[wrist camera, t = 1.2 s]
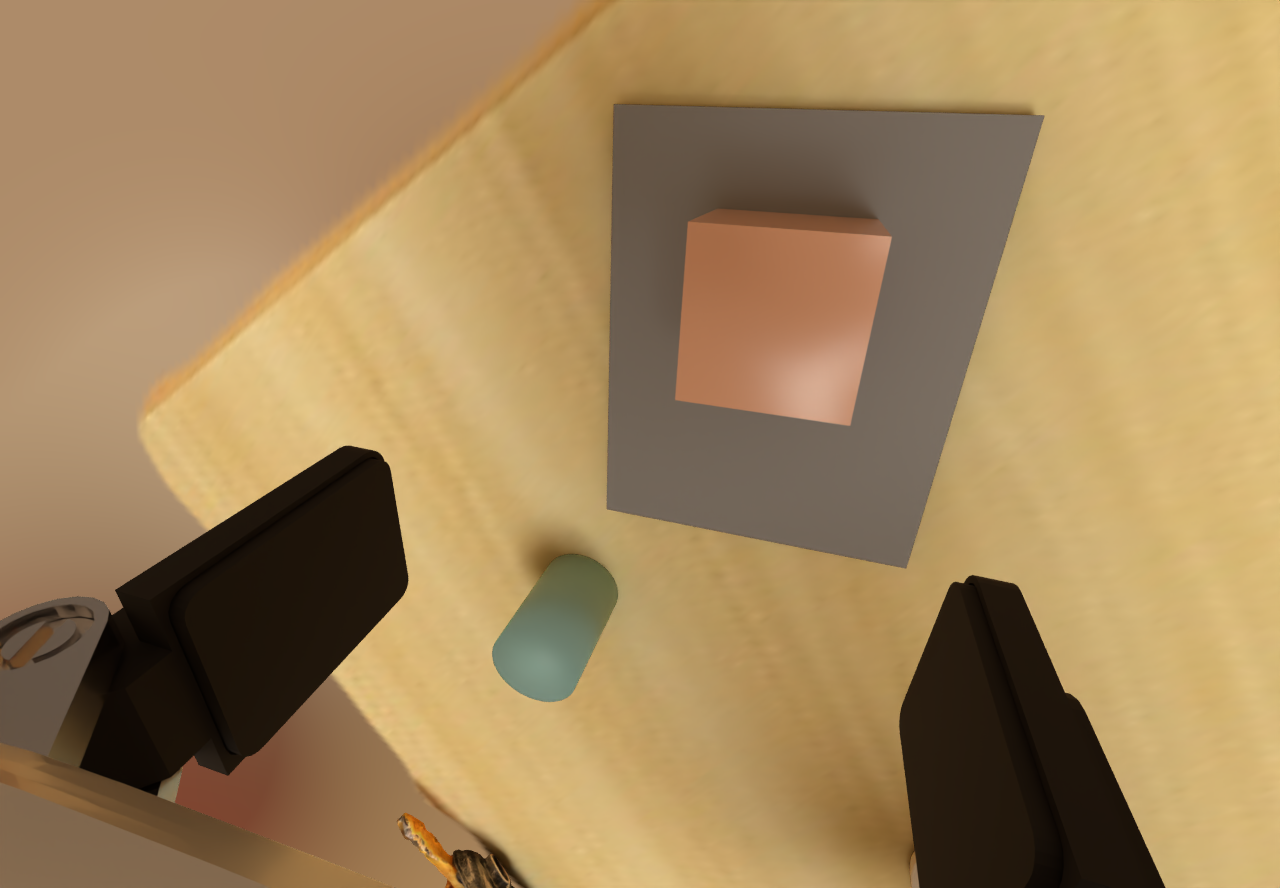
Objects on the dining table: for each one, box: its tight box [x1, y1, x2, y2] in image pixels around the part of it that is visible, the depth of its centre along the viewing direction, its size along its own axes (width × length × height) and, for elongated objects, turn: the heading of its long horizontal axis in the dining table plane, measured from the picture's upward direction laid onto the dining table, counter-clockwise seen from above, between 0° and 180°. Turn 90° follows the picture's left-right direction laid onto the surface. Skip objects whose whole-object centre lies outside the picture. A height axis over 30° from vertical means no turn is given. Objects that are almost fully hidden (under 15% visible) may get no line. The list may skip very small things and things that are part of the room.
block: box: [675, 209, 892, 426], centre depth 23 cm, size 6×6×6 cm
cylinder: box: [492, 554, 618, 702], centre depth 35 cm, size 5×5×7 cm
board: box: [607, 104, 1044, 568], centre depth 27 cm, size 16×20×1 cm
